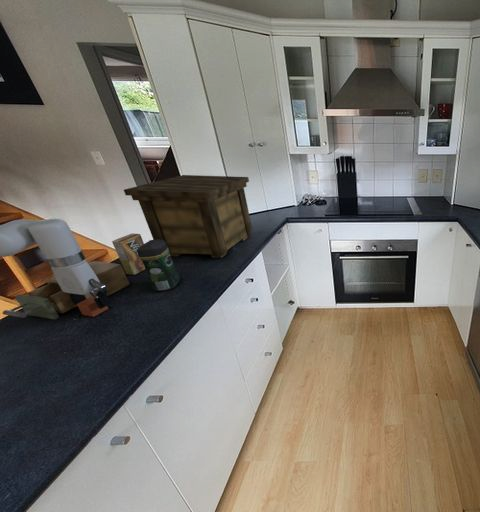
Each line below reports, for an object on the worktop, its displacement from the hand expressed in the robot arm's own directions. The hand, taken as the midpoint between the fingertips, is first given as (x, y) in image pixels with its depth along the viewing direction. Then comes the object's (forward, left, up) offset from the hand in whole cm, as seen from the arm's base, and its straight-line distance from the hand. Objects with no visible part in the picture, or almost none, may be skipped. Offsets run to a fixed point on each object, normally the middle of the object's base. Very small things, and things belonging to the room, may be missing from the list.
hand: (93, 304), depth 91 cm
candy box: (+2, +30, -3) cm, 30 cm away
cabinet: (-6, +14, -3) cm, 16 cm away
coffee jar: (+17, +12, -3) cm, 21 cm away
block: (0, 0, -3) cm, 3 cm away
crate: (+26, +49, -3) cm, 55 cm away
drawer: (-12, +4, -2) cm, 13 cm away
